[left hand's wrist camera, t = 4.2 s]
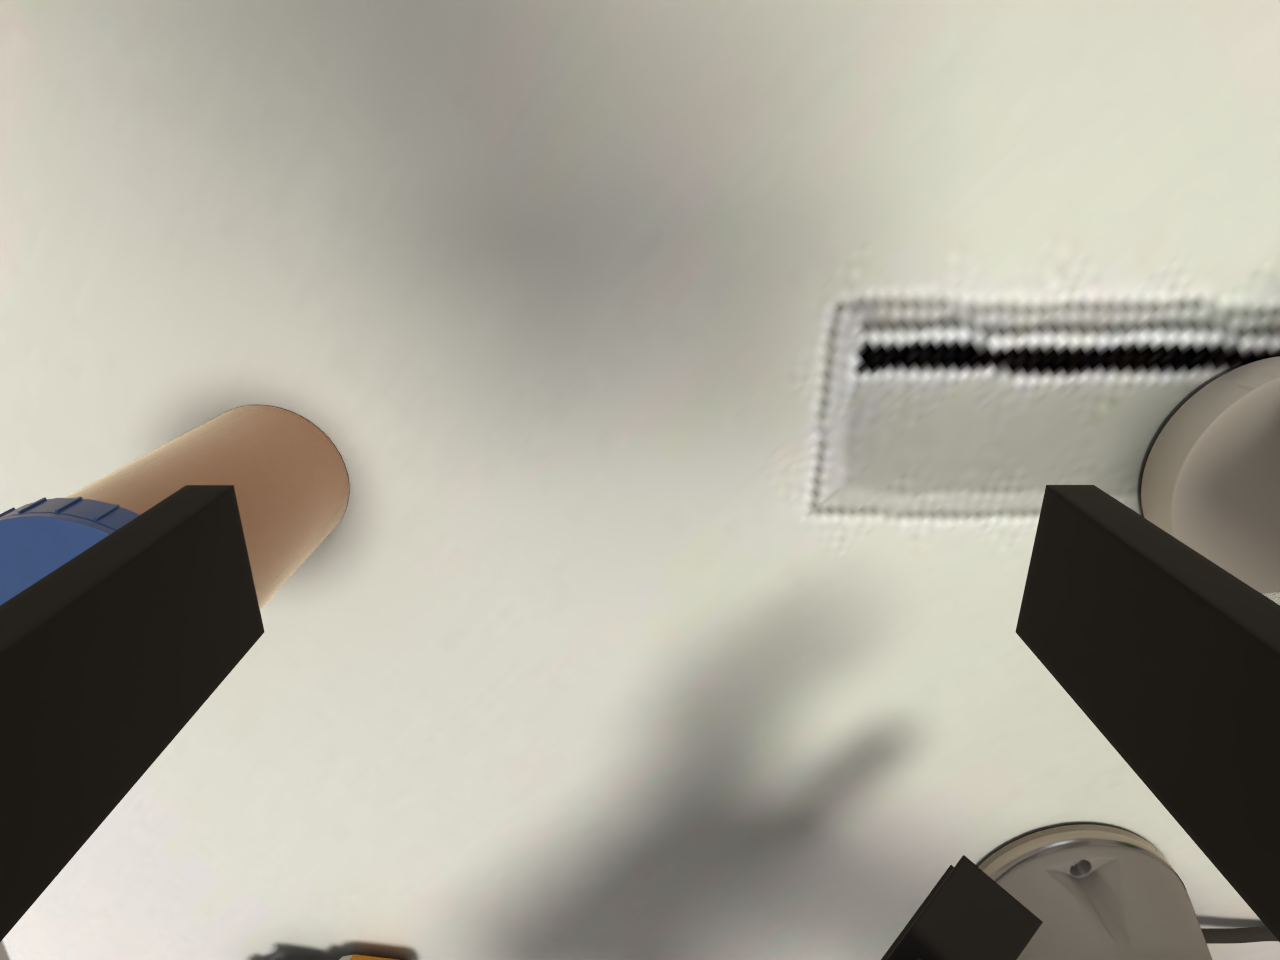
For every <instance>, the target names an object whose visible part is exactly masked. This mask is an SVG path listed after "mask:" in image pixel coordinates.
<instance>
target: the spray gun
mask: <svg viewBox="0 0 1280 960" xmlns="http://www.w3.org/2000/svg"><path fill="white" fill-rule="evenodd" d="M339 960H399V959H390V958H382V957H373V956H364V955H356V954H354V955H348V956H343V957H341V958H340V959H339Z"/></svg>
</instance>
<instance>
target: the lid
mask: <svg viewBox="0 0 1280 960" xmlns="http://www.w3.org/2000/svg"><path fill="white" fill-rule="evenodd" d="M139 515H140V514H138V513H135V512H133V511H131V510H129V509H126V508H123V507H120V506H119V505H118V504H116V505H114V504H111V503H106V502H102V501H97V500H92V499H82V497H77V498H55V499H48V500H47V499H46V498H42V499H40V500H38V501H36V502H34V503H30V504H27V505H24V506H22V507H20V508H18V509H16V510H15V508H12V509H10V510H8V511H6V512H4V513H2V514H0V605H2V604H4V603H5V602H7V601H8V600H10V599H11V598H13V597H14V596H16V595H17V594H19V593H21V592H22V591H24V590H25V589H27V588H28V587H30V586H31V585H33V584H34V583H36V582H37V581H39V580H41V579H42V578H44V577H45V576H47V575H48V574H50V573H51V572H53V571H54V570H56V569H58V568H59V567H61V566H62V565H64V564H65V563H67V562H68V561H70V560H71V559H73V558H75V557H76V556H78V555H79V554H81V553H82V552H84V551H85V550H87V549H88V548H90V547H91V546H93V545H95V544H96V543H98V542H99V541H101V540H102V539H104V538H105V537H107V536H108V535H110V534H112V533H113V532H115V531H116V530H118V529H119V528H121V527H122V526H124V525H125V524H127V523H129V522H130V521H132V520H133V519H135V518H136V517H138V516H139Z"/></svg>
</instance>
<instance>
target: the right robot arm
mask: <svg viewBox="0 0 1280 960" xmlns="http://www.w3.org/2000/svg"><path fill="white" fill-rule="evenodd" d="M1259 941H1278V939H1277V938H1276V937H1275V936H1274V935H1273V933H1272V932H1271V931H1270V930H1269V929H1268V928H1267V926H1265V927H1249V928H1230V929H1201V928H1200V925H1199V922H1198V920H1197V917H1196V914H1195V911H1194V909H1193V906H1192V904H1191V901H1190V898H1189V896H1188V893H1187V891H1186V888H1185V886H1184V884H1183V882H1182V880H1181V879H1180V877H1179V876H1178V875H1177V873H1176V872H1175V871H1174V870H1173V868H1172V867H1171V866H1170V864H1169V863H1168V862H1167V861H1166V859H1165V858H1164V857H1163V856H1162V854H1161V853H1160V852H1159V851H1158V850H1157V849H1156V848H1155V847H1154V846H1153V845H1151V844H1150V843H1149V842H1147V841H1146V840H1144V839H1143V838H1141V837H1139V836H1137V835H1135V834H1133V833H1130V832H1128V831H1125V830H1122V829H1118V828H1114V827H1109V826H1103V825H1089V824H1080V825H1067V826H1060V827H1055V828H1050V829H1046V830H1042V831H1038V832H1036V833H1033V834H1030V835H1027V836H1025V837H1022V838H1020V839H1018V840H1016V841H1014V842H1012V843H1010V844H1008V845H1006V846H1004V847H1003V848H1001V849H1000V850H998V851H997V852H995V853H994V854H992V855H991V856H990V857H988V858H987V859H986V860H985V861H984V862H983V863H981V864H980V865H979V866H978V867H977V866H976V865H975V864H974V863H972V862H971V861H970V860H969V859H968V858H967V857H965V856H964V855H963V856H962V858H961V859H960V860H959V862H958V863H957V865H956V866H955V867H953V866H952V865H950V867H949V868H948V869H947V871H946V872H945V873H944V875H943V876H942V878H941V879H940V880H939V882H938V883H937V884H936V886H935V887H934V888H933V890H932V891H931V893H930V894H929V895H928V897H927V898H926V899H925V901H924V902H923V903H922V905H921V906H920V908H919V909H918V910H917V912H916V913H915V914H914V916H913V917H912V918H911V920H910V921H909V922H908V924H907V925H906V927H905V928H904V929H903V931H902V932H901V933H900V935H899V936H898V937H897V939H896V940H895V942H894V943H893V944H892V946H891V947H890V948H889V950H888V951H887V952H886V954H885V955H884V956H883V958H882V959H881V960H1212V958H1211V955H1210V952H1209V949H1208V947H1207V944H1206V943H1247V942H1259Z"/></svg>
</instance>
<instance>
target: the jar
mask: <svg viewBox="0 0 1280 960" xmlns="http://www.w3.org/2000/svg"><path fill="white" fill-rule="evenodd" d="M186 485H234V489H235V494H236V499H237V503H238V508H239V513H240V518H241V523H242V527H243V532H244V537H245V542H246V547H247V551H248V556H249V561H250V566H251V571H252V575H253V580H254V585H255V590H256V594H257V599H258V604H259V609H260V610H261V609H262V608H263V607H264V606H265V604H266V603H267V602H268V601H269V600H270V599H271V598H272V597H273V596H274V594H275V593H276V592H277V591H278V590H279V589H280V588H281V587H282V586H283V585H284V583H285V582H286V581H287V580H288V579H289V578H290V577H291V576H292V575H293V574H294V572H295V571H296V570H297V569H298V568H299V567H300V566H301V565H302V564H303V562H304V561H305V560H306V559H307V558H308V557H309V556H310V555H311V554H312V553H313V551H314V550H315V549H316V548H317V547H318V546H319V545H320V544H321V543H322V542H323V540H324V539H325V538H326V537H327V536H328V535H329V534H330V533H331V532H332V530H333V529H334V528H335V527H336V526H337V525H338V523H339V522H340V520H341V519H342V517H343V515H344V512H345V510H346V507H347V503H348V497H349V481H348V475H347V471H346V468H345V465H344V462H343V460H342V458H341V456H340V454H339V452H338V451H337V449H336V447H335V446H334V445H333V443H332V442H331V441H330V439H329V438H328V437H327V436H326V435H325V434H324V433H323V432H322V431H321V430H320V429H319V428H317V427H316V426H315V425H314V424H312V423H311V422H309V421H308V420H306V419H305V418H303V417H301V416H299V415H297V414H295V413H293V412H290V411H287V410H284V409H281V408H277V407H273V406H264V405H249V406H243V407H238V408H235V409H231V410H229V411H227V412H225V413H223V414H221V415H219V416H217V417H215V418H213V419H211V420H209V421H208V422H206V423H204V424H202V425H200V426H198V427H196V428H194V429H193V430H191V431H189V432H187V433H185V434H183V435H181V436H179V437H178V438H176V439H174V440H172V441H170V442H168V443H166V444H164V445H163V446H161V447H159V448H157V449H155V450H153V451H151V452H149V453H148V454H146V455H144V456H142V457H140V458H138V459H136V460H134V461H133V462H131V463H129V464H127V465H125V466H123V467H121V468H119V469H117V470H116V471H114V472H112V473H110V474H108V475H106V476H104V477H102V478H101V479H99V480H97V481H95V482H93V483H91V484H89V485H87V486H86V487H84V488H82V489H80V490H78V491H76V492H74V493H72V494H71V495H69V496H67V497H65V498H77V497H82V499H92V500H97V501H102V502H106V503H111V504H114V505H116V504H118V505H119V506H120V507H123V508H126V509H129V510H131V511H133V512H135V513H138V514H140V515H141V514H142V513H144V512H146V511H147V510H149V509H150V508H152V507H153V506H155V505H156V504H158V503H159V502H161V501H162V500H164V499H166V498H167V497H169V496H170V495H172V494H173V493H175V492H176V491H178V490H179V489H181V488H183V487H184V486H186Z"/></svg>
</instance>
